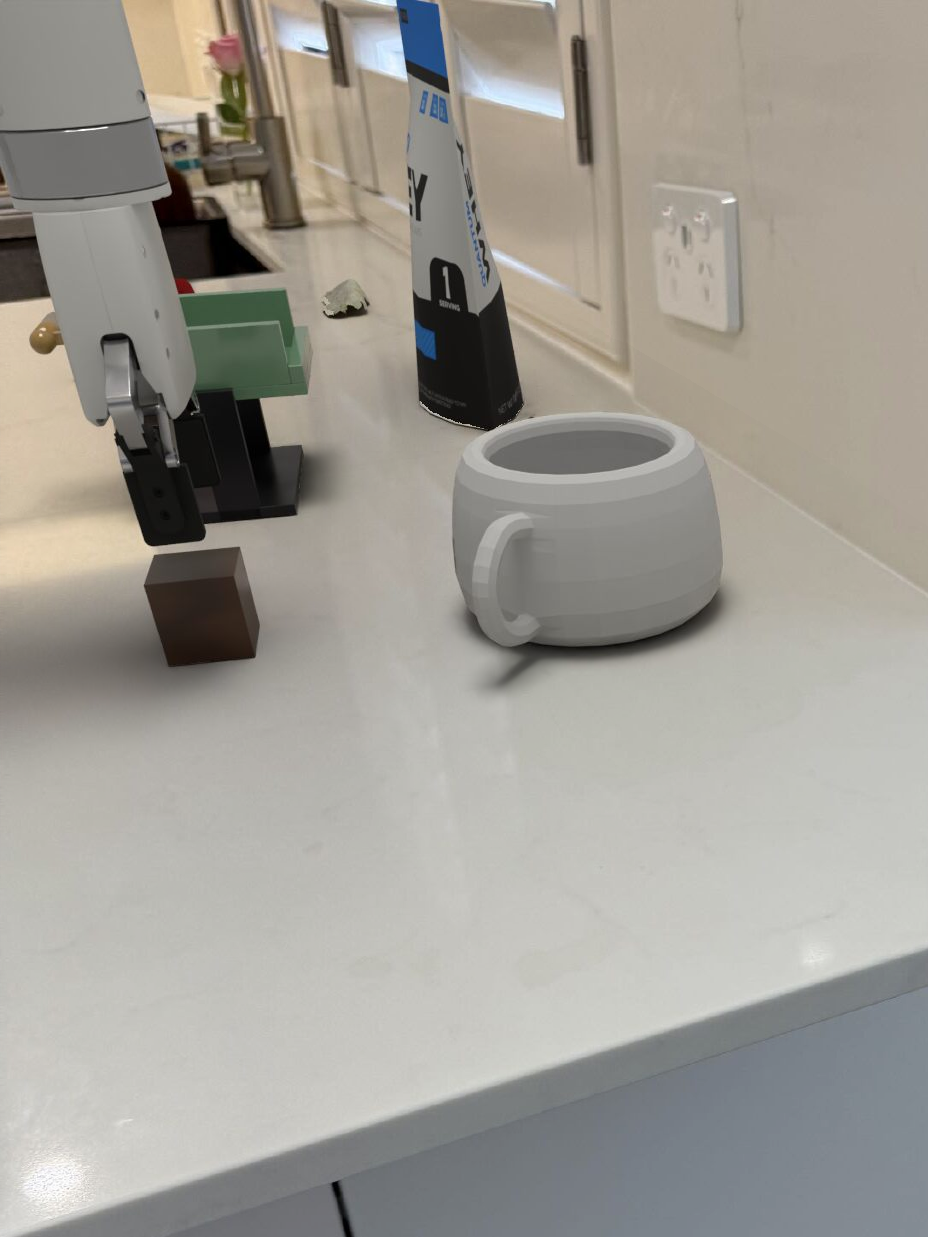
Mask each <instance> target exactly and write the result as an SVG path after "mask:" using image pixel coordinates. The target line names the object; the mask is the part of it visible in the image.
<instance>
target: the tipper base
mask: <svg viewBox="0 0 928 1237" xmlns="http://www.w3.org/2000/svg"><path fill="white" fill-rule="evenodd" d="M195 392H196V395H197V398H198V402H199V407H200V412H199V413H192V415H195V414H204V418H205V421H206V425H207V429H208V432H209V436H210V439H211V443H212V447H213V450H214V454H215V458H216V461H217V465H218V469H219V472H220V476H221V480H220V483H219V485H217V486H212V487H203V488H194V490H195V494H196V497H197V501H198V504H199V508H200V511H201V515H202V518H203V522H204V524H212V523H223V522H235V521H244V520H254V519H255V520H256V519H265V518H277V517H287V516H296V515H297V514H298V506H299V498H298V494H299V495H300V489H299V486H300V487H301V481H300V477H301V478H302V472H303V463H302V459H303V460H304V455H303V453H304V448H303V445H302V444H291V445H281V446H271V442H270V438H269V433H268V429H267V425H266V420H265V415H264V412H263V408H262V407H263V406H262V403H261V398H258V399H245V400H235V396H234V392H233V388H221V389H208V390H195ZM301 469H302V470H301ZM301 471H302V472H301ZM299 484H300V485H299Z"/></svg>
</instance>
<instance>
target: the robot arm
mask: <svg viewBox="0 0 928 1237" xmlns="http://www.w3.org/2000/svg"><path fill="white" fill-rule="evenodd" d="M139 65H140V64H139V62H138V58H137V53H136V49H135V46H134V42H133V39H132V34H131V31H130V26H129V23H128V19H127V16H126V12H125V8H124V4H123V1H122V0H0V168H1V172H2V175H3V178H4V181H5V184H6V187H7V191H8V193H9V196H10V199H11V203H12V205H13V209H14V210H16V211H19V212H25V213H26V212H27V213H31V214H32V220H33V226H34V231H35V236H36V241H37V246H38V251H39V255H40V260H41V264H42V268H43V272H44V276H45V280H46V284H47V288H48V291H49V295H50V300H51V303H52V306H53V311H54V312H55V314H56V318H57V321H58V325H59V328H60V332H61V335H62V339H63V342H64V345H63V346H64V349H65V353H66V357H67V360H68V363H69V367H70V370H71V374H72V377H73V381H74V385H75V388H76V391H77V395H78V399H79V402H80V406H81V409H82V412H83V415H84V418H85V419H86V421H88V422H89V423H90V424H91V425H93V426H94V427H97V428H99V427H101V428H102V427H104V426H105V425H106V424H107V422H108V420H109V419H110V418H111V419H112V423H113V428H114V430H113V431H114V432H113V436H114V437H115V438H114V442H115V445H116V448H117V452H118V453H117V454H118V459H119V463H120V468H121V469H122V476H123V479H124V482H125V484H126V487H127V492H128V494H129V497H130V502H131V503H132V506H133V510H134V513H135V516H136V519H137V523H138V526H139V529H140V532H141V535H142V538H143V541H144V543H145V544H146V545H147V546H148V547H162V546H171V545H179V544H180V545H181V544H188V543H196V542H197V543H199V542H202V541H203V540H205V538H206V535H207V529H206V526H205V523H204V522H203V518H202V515H201V511H200V508H199V504H198V501H197V497H196V494H195V490H194V488H203V487H212V486H217V485H219V483H220V480H221V476H220V472H219V469H218V465H217V461H216V458H215V454H214V450H213V447H212V443H211V439H210V436H209V432H208V429H207V425H206V421H205V418H204V414H195V415H193V413H199V412H200V407H199V402H198V398H197V395H196V392H195V390H194V385H195V381H196V367H195V361H194V356H193V352H192V347H191V343H190V338H189V334H188V330H187V326H186V322H185V318H184V314H183V310H182V306H181V303H180V299H179V295H178V292H177V288H176V284H175V281H174V278H175V277H174V274H173V271H172V267H171V263H170V260H169V256H168V253H167V250H166V246H165V243H164V240H163V236H162V229H161V227H160V224H159V222H158V219H157V218H158V217H157V216H156V211H155V208H154V205H153V202H154V201H158V200H161V199H162V198H167V197H170V196H171V195H172V193H173V191H172V187H171V183H170V181H169V176H168V173H167V168H166V166H165V165H166V164H165V162H164V157H163V154H162V149H161V146H160V142H159V138H158V135H157V131H156V127H155V124H154V120H153V117H152V113H151V109H150V104H149V100H148V96H147V93H146V89H145V85H144V82H143V78H142V72H141V69H140V66H139ZM140 405H144V406H140Z"/></svg>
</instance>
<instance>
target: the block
mask: <svg viewBox="0 0 928 1237" xmlns="http://www.w3.org/2000/svg"><path fill="white" fill-rule="evenodd" d="M149 565H150V566H149V568H148V572H147V574H146V577H145V579H144V582H143V583H144V584H143V588H144V591H145V595H146V598H147V600H148V605H149V607H150V611H151V615H152V618H153V620H154V623H155V627H156V631H157V635H158V637H159V640H160V644H161V647H162V651H163V654H164V657H165V661H166V663H167V666H168V667H176V666H186V665H194V664H204V663H213V662H221V661H231V660H239V659H251V658H256V654H257V653H256V652H257V646H258V639H259V632H260V626H261V623H260V620H259V615H258V611H257V608H256V604H255V601H254V596H253V593H252V589H251V584H250V580H249V576H248V573H247V568H246V564H245V561H244V556H243V553H242V549H241V546H230V547H220V548H211V549H209V548H208V549H197V550H190V551H189V550H188V551H178V552H167V553H157V554H153V556H152V559H151V562H150V564H149Z"/></svg>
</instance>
